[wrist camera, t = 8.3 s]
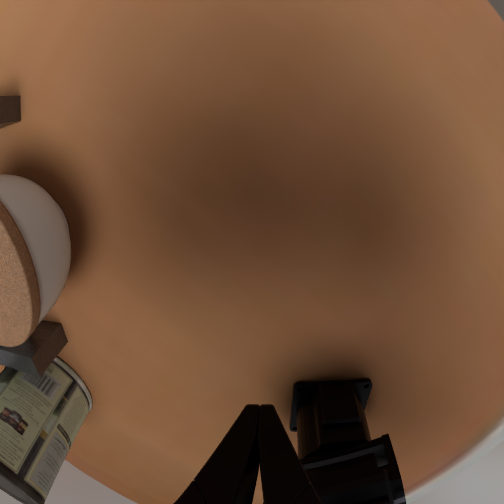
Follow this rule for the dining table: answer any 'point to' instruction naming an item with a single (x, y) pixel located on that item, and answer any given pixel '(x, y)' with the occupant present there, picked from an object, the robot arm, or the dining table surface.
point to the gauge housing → (46, 333)
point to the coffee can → (38, 427)
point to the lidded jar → (29, 257)
